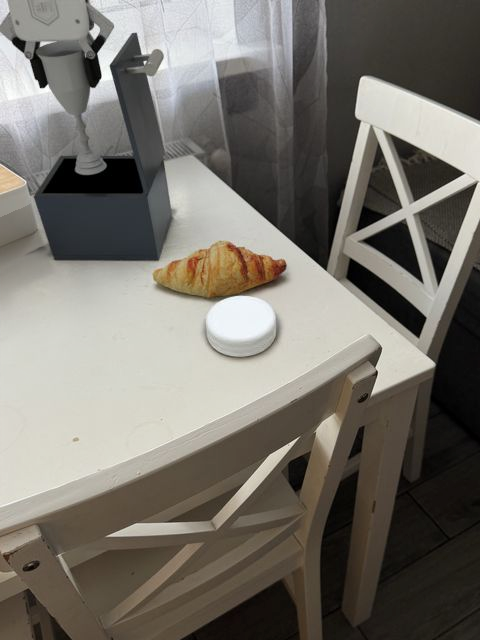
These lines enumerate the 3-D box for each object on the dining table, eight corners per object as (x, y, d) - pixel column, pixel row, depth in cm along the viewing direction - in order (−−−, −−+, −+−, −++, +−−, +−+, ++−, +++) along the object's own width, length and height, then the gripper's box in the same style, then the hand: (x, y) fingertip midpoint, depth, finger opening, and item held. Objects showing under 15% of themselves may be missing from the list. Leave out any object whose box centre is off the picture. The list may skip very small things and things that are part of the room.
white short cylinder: (215, 309, 90) (213, 291, 88) (280, 315, 89) (280, 296, 87) (200, 355, 83) (197, 336, 81) (270, 361, 82) (270, 343, 79)
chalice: (90, 153, 100) (62, 37, 88) (121, 162, 97) (97, 44, 85) (59, 172, 96) (24, 52, 83) (90, 181, 93) (60, 59, 80)
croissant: (157, 313, 95) (147, 293, 88) (154, 257, 98) (145, 233, 91) (288, 301, 96) (290, 280, 88) (282, 246, 99) (283, 221, 91)
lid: (109, 65, 79) (146, 61, 78) (131, 32, 89) (165, 29, 88) (144, 194, 91) (176, 191, 91) (160, 153, 102) (189, 150, 101)
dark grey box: (54, 260, 101) (33, 196, 93) (77, 216, 111) (60, 155, 103) (158, 260, 100) (147, 196, 92) (172, 216, 110) (163, 155, 102)
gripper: (-45, -53, 73) (3, 95, 85) (94, -57, 72) (122, 94, 84) (-20, -65, 78) (21, 76, 91) (109, -68, 77) (133, 75, 90)
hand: (70, 83), depth 87 cm, fingers closed on chalice, 6 cm apart
